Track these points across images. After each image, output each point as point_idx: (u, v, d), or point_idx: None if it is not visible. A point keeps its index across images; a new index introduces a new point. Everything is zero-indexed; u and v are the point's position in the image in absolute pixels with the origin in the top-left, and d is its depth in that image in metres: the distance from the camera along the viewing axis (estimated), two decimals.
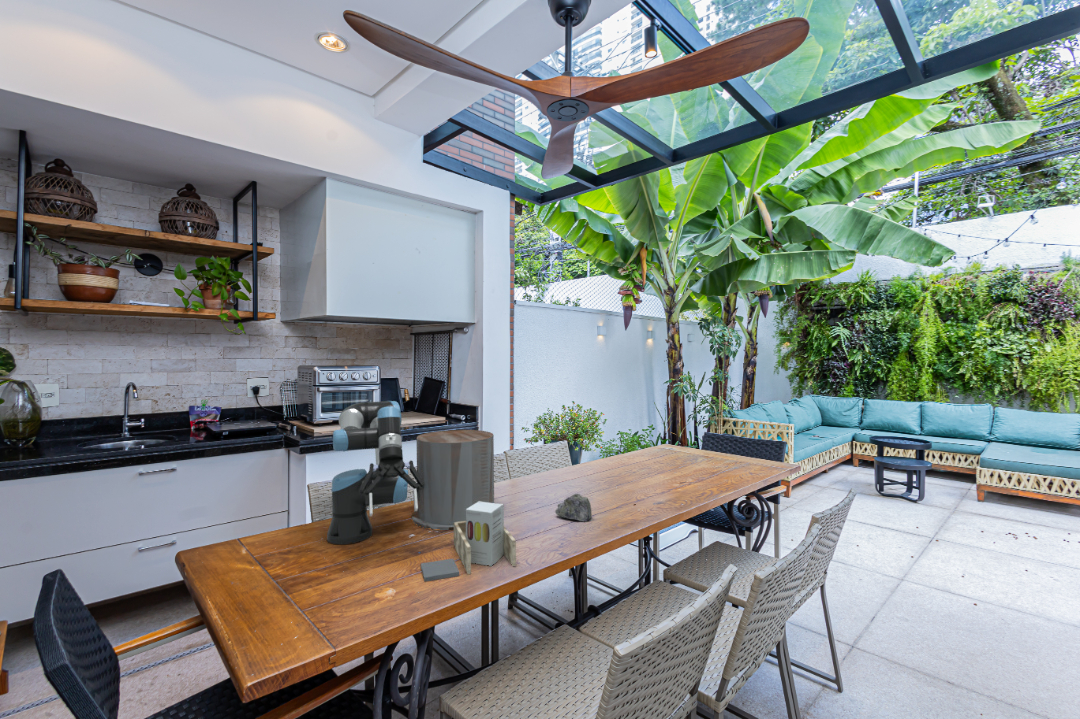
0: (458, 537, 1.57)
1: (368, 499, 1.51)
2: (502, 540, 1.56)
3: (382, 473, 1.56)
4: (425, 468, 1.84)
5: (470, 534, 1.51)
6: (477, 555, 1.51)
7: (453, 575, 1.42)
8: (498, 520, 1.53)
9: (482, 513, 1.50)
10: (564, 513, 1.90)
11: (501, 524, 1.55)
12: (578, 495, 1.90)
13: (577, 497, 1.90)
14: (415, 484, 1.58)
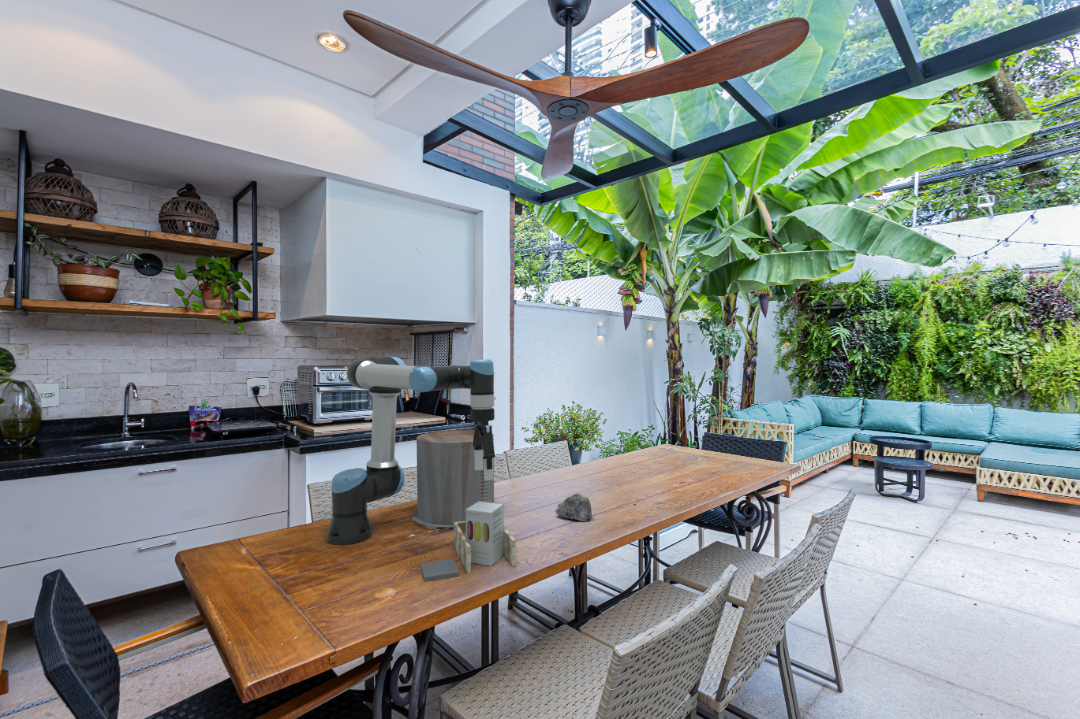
0: (458, 537, 1.57)
1: None
2: (502, 540, 1.56)
3: None
4: (425, 468, 1.84)
5: (470, 534, 1.51)
6: (477, 555, 1.51)
7: (453, 575, 1.42)
8: (498, 520, 1.53)
9: (482, 513, 1.50)
10: (564, 513, 1.90)
11: (501, 524, 1.55)
12: (578, 495, 1.90)
13: (577, 497, 1.90)
14: None
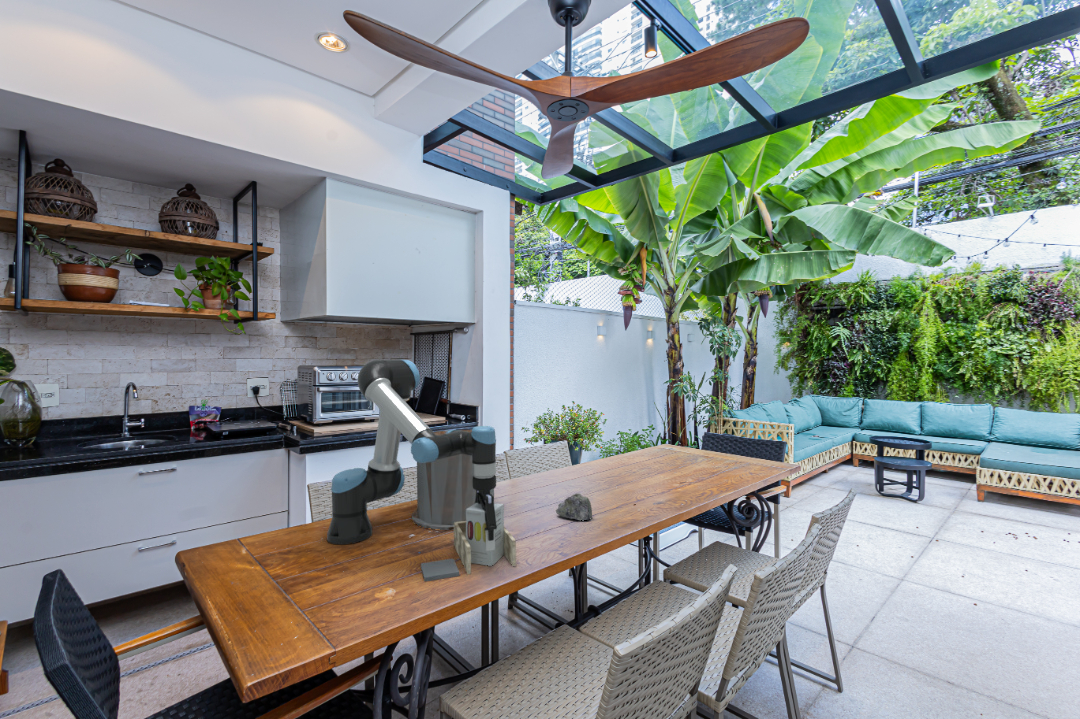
0: (458, 537, 1.57)
1: None
2: (502, 540, 1.56)
3: None
4: (425, 468, 1.84)
5: (470, 534, 1.51)
6: (477, 555, 1.50)
7: (453, 575, 1.42)
8: (498, 520, 1.53)
9: (482, 513, 1.50)
10: (564, 513, 1.90)
11: (501, 524, 1.55)
12: (578, 495, 1.91)
13: (577, 497, 1.90)
14: None
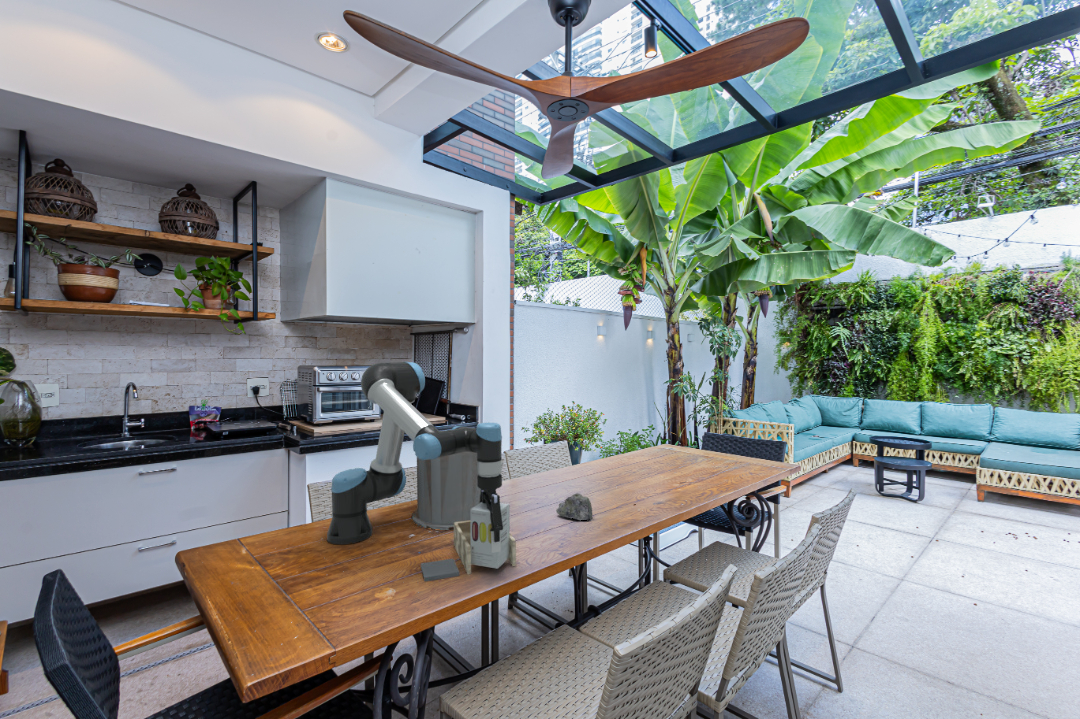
0: (458, 537, 1.57)
1: None
2: (508, 541, 1.50)
3: None
4: (425, 468, 1.84)
5: (475, 535, 1.45)
6: (482, 557, 1.44)
7: (453, 575, 1.42)
8: (504, 520, 1.47)
9: (487, 513, 1.44)
10: (564, 513, 1.90)
11: (507, 524, 1.49)
12: (579, 495, 1.91)
13: (578, 497, 1.90)
14: None
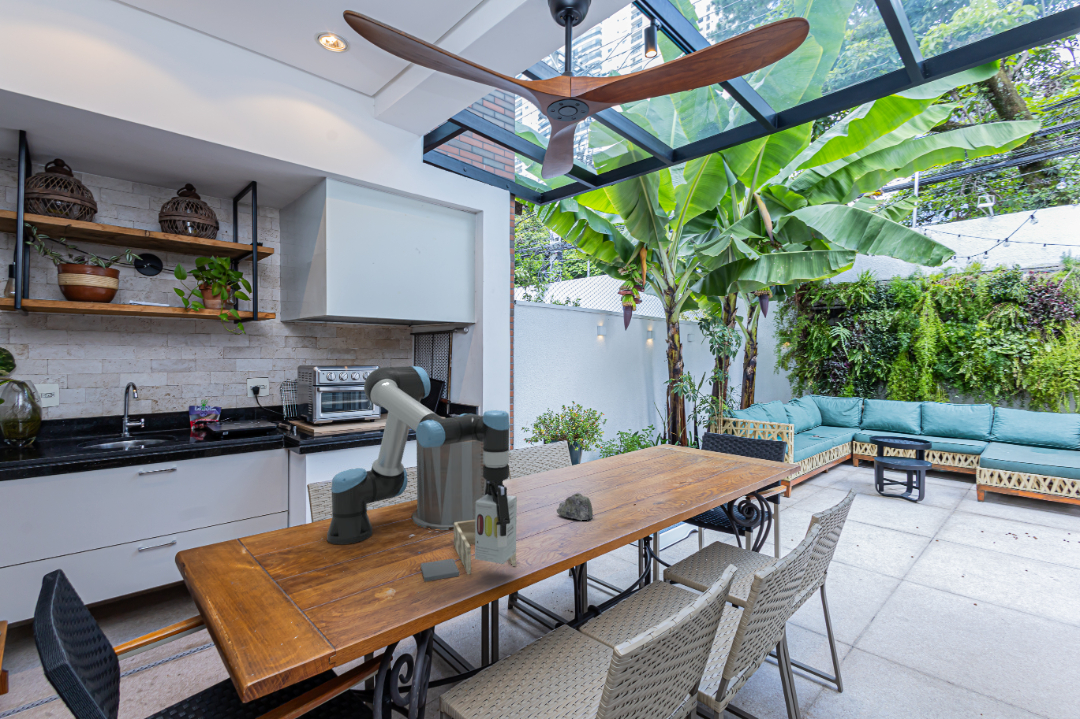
0: (458, 537, 1.57)
1: None
2: (514, 535, 1.42)
3: None
4: (425, 468, 1.84)
5: (480, 529, 1.37)
6: (487, 552, 1.37)
7: (453, 575, 1.42)
8: (510, 514, 1.39)
9: (493, 505, 1.36)
10: (564, 513, 1.91)
11: (514, 518, 1.42)
12: (579, 495, 1.91)
13: (578, 497, 1.90)
14: None
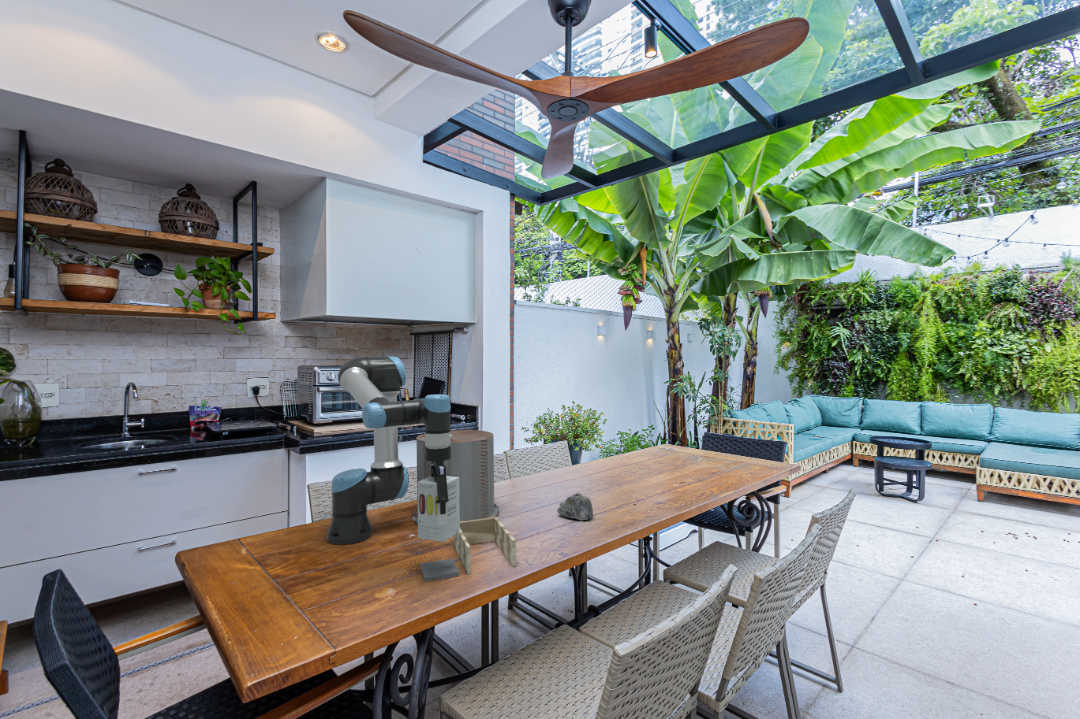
0: (458, 537, 1.57)
1: None
2: (457, 515, 1.47)
3: None
4: (425, 468, 1.84)
5: (422, 508, 1.42)
6: (429, 531, 1.41)
7: (453, 575, 1.42)
8: (452, 493, 1.44)
9: (434, 485, 1.41)
10: (565, 512, 1.91)
11: (456, 498, 1.46)
12: (579, 494, 1.91)
13: (578, 496, 1.90)
14: None
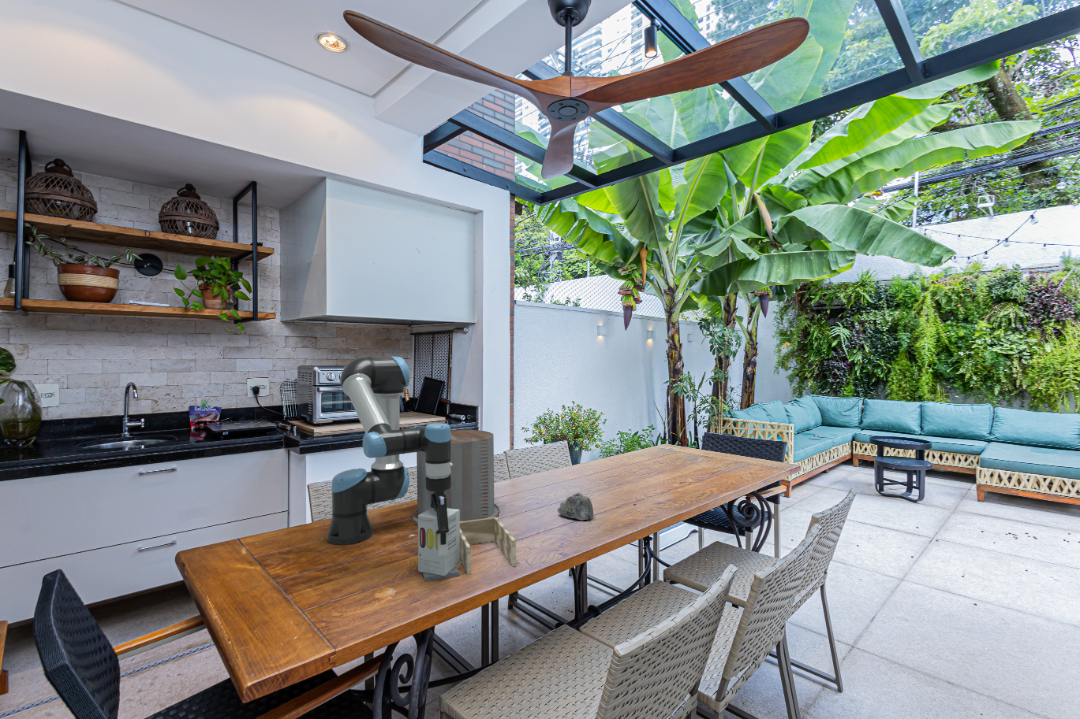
0: None
1: None
2: (458, 548, 1.47)
3: None
4: None
5: (422, 542, 1.42)
6: (430, 564, 1.42)
7: (453, 575, 1.42)
8: (452, 527, 1.44)
9: (434, 519, 1.41)
10: (565, 512, 1.91)
11: (457, 531, 1.47)
12: (579, 494, 1.91)
13: (578, 496, 1.90)
14: None
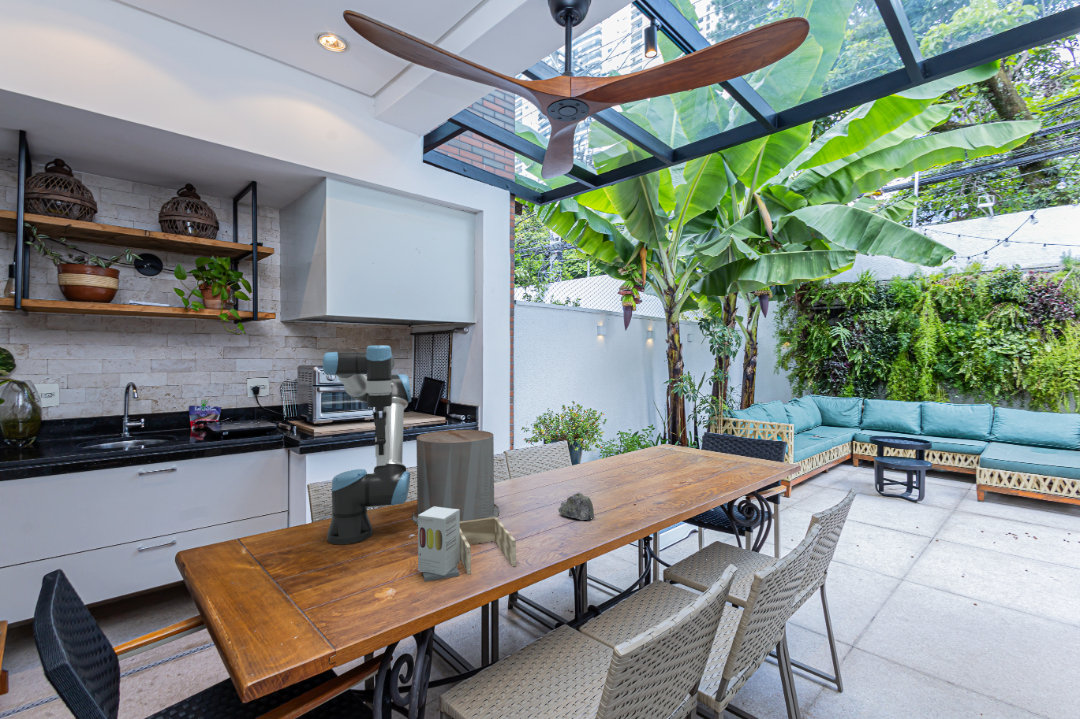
0: None
1: (383, 450, 1.47)
2: (457, 547, 1.47)
3: (386, 422, 1.51)
4: (425, 468, 1.84)
5: (422, 541, 1.42)
6: (430, 564, 1.42)
7: (453, 575, 1.42)
8: (452, 526, 1.44)
9: (434, 519, 1.41)
10: (565, 512, 1.91)
11: (456, 530, 1.47)
12: (580, 494, 1.91)
13: (579, 496, 1.91)
14: None
